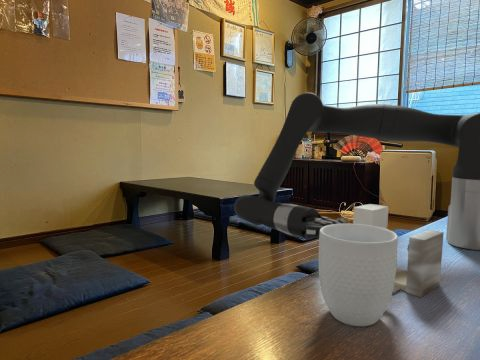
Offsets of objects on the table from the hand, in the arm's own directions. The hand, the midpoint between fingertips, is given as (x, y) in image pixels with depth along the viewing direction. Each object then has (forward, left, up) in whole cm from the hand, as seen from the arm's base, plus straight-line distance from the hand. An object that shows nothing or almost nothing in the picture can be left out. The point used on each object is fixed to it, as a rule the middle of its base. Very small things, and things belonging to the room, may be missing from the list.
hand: (360, 235), depth 71 cm
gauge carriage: (+3, 0, -6) cm, 6 cm away
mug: (+19, -7, -7) cm, 21 cm away
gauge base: (+6, +4, -7) cm, 10 cm away
